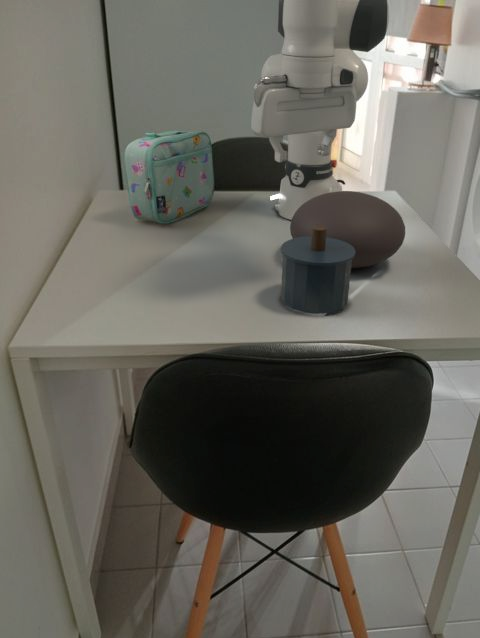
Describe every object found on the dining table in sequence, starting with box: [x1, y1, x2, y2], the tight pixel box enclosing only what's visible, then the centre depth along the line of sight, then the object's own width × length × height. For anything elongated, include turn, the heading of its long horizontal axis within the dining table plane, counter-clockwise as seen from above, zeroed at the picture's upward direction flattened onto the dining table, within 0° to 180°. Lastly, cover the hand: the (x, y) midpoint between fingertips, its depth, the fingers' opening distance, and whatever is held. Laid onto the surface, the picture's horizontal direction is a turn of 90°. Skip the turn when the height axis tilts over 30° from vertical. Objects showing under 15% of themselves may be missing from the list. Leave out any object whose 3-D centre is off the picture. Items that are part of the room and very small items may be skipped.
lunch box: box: [123, 129, 215, 225], centre depth 155 cm, size 27×10×21 cm, turn 150°
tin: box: [280, 254, 352, 317], centre depth 114 cm, size 13×13×10 cm
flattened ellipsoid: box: [289, 190, 406, 269], centre depth 131 cm, size 25×25×15 cm
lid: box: [280, 225, 356, 266], centre depth 110 cm, size 14×14×5 cm
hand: (302, 158), depth 109 cm, fingers open, 8 cm apart
